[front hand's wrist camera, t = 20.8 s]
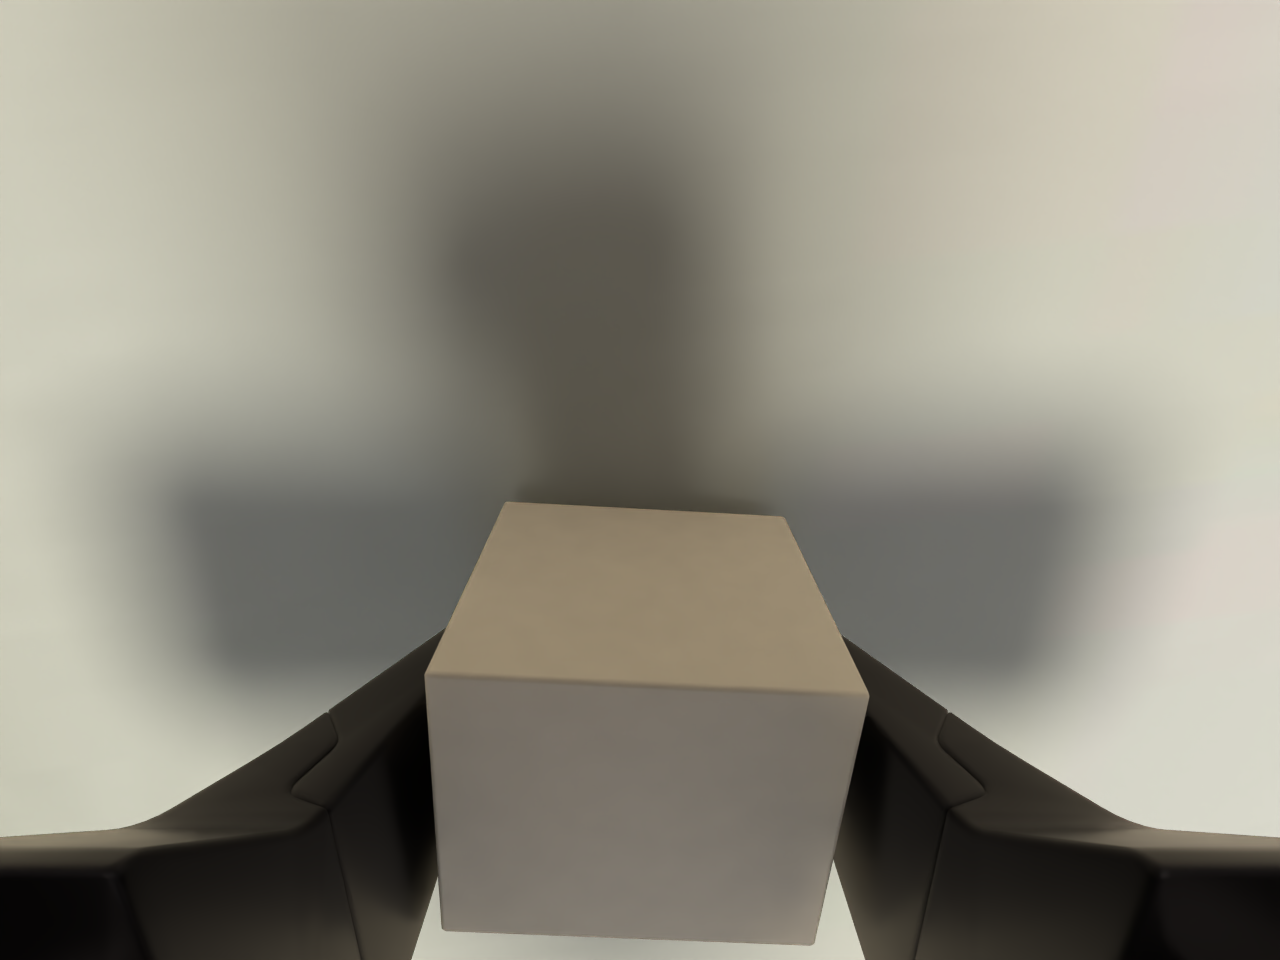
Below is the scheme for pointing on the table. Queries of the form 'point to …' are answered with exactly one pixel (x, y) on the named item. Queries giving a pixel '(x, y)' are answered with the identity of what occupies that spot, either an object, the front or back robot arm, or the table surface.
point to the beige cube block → (640, 730)
